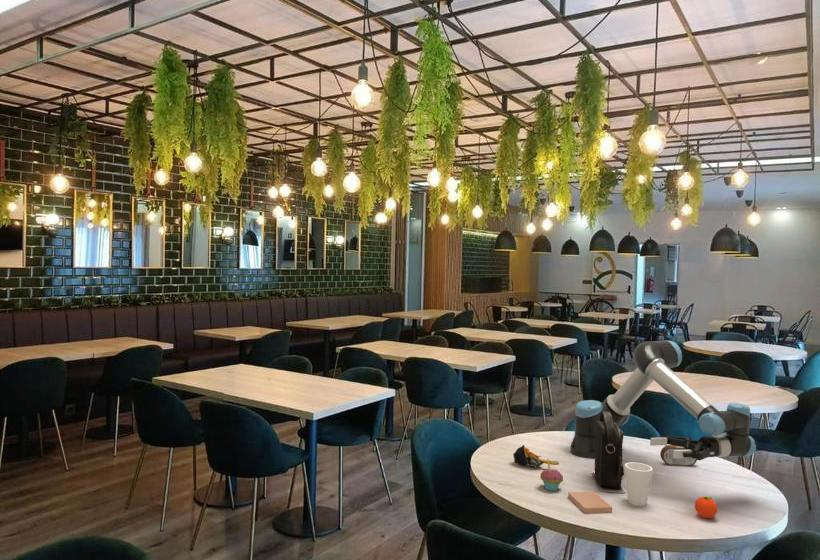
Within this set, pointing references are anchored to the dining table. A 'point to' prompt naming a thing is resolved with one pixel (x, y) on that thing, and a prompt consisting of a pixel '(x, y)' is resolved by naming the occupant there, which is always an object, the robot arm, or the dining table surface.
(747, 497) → the dining table surface
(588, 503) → the tile
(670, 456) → the tin
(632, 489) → the foam cup
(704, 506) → the clementine
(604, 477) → the shoulder bag
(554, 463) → the fried shrimp in bowl
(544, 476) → the cupcake
